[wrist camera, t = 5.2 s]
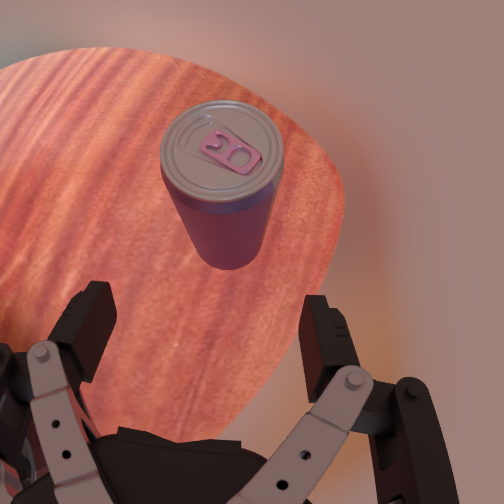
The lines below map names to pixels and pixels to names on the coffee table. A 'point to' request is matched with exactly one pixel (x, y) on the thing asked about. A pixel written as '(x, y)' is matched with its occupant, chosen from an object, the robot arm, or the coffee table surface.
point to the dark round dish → (30, 455)
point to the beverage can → (223, 177)
